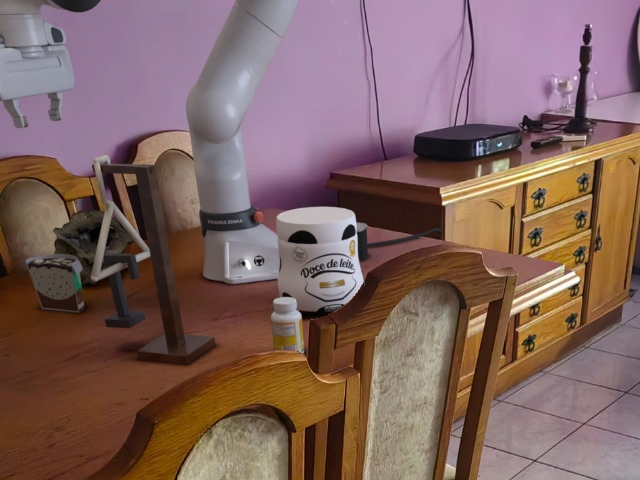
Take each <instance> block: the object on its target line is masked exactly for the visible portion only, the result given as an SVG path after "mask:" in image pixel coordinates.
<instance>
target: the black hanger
mask: <svg viewBox="0 0 640 480" xmlns="http://www.w3.org/2000/svg"><path fill="white" fill-rule="evenodd" d="M135 255H136V254H135V253H125V252H124V253H107V254H105V255H103V259H104V262H105V267H106V268H108V267H111V266H113V265H115V264H117V263H127V266H128V267H127V270H128V274H129V278H130V280H137V279H139V278H141V274H140V270H139V265H138V262H137V261H136V256H135ZM107 279H108V283H109V286H110V290H111V295H112V299H113V303H114V307H115V310H116V312H115V313H114V314H112V315H109V316H108V317H106V318H104V323H105V326H106V328H115V329H116V328H117V329H131V328H133V327H135V326H137V325H138V324H140V323H142V322H144V321H145V320H146V316H145V312H144V311H142V310H139V311H138V310H130V307H129V302H128V299H127V295H126V291H125V286H124V282H123V279H122V275H121V270H120V271H118V272H116V273H114V274H112V275H109V276H107Z"/></svg>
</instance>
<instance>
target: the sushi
mask: <svg viewBox="0 0 640 480" xmlns="http://www.w3.org/2000/svg"><path fill="white" fill-rule="evenodd" d="M356 224H357V241H358V259H359V262H362V261H365V260H366V259H367V258H368V256H369V247H368V246H367V244H368V232H367V231H368V224H367V223H364V222H359V221H358V222H357V221H356Z"/></svg>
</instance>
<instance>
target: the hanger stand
mask: <svg viewBox="0 0 640 480" xmlns="http://www.w3.org/2000/svg"><path fill="white" fill-rule="evenodd" d="M92 162H93V164H91V168H92V172H93V173H95V177H96V181H97V186H98V191H99V196H100V200H101V201H100V202H101V203H102V204H103V205H105V210H104V212H105V213H104V218H103V223H102V227H101V232H100V237H99V241H98V246H97V251H96V255H95V260H94V265H93V269H92V274H91V280H92V281H94V282H96V281H97V282H98V281H101V280H103V279H106V278H108V276H109V275H112V274H114V273H116V272H118V271H120V272H121V271H122V270H124V269H128V266H127V263H117V264H115V265H113V266H111V267H108V268H106V269H104V270H102V271H100V270H101V265H102V260H103V255H104V251H105V246H106V241H107V237H108V232H109V227H110V223H111V218H112V217H113V215H114V218H115V219H116V220H117V221H118V222H119V223H120V225H121V226H122V228H124V230H125V231H127V232H128V233H129V234H130V236H131V237H132V238H133V241H134V242H135V243H136V245H137V246H138V247H139V249H140V250H141V251H142V252H140V253H137V254H135V256H136V261H137V263H140V262H141V261H144V260H146V259H148V258H150V261H151V266H152V272H153V277H154V282H155V288H156V293H157V299H158V305H159V310H160V316H161V321H162V326H163V332H164V334H162V335H160V336H159V337H157V338H155V339H154V340H152V341H150V342H149V343H147V344H146V345H144V346H142V347H141V348H139V349H137V350H136V355H137V359H138V360H141V361H148V362H149V361H150V362H158V363H168V364H175V365H183V366H185V365H186V366H188V365H189V364H192V363H193V362H194V361H196V360H197V359H198V358H200V357H201V356H203V355H204V354H206V353H207V352H208V351H210V350H212V349H213V348H214V347H216V346H217V345H216V338H215V336H207V335H197V334H188V333H184V332H185V331H184V326H183V320H182V314H181V308H180V303H179V297H178V292H177V291H178V290H177V285H176V279H175V273H174V268H173V263H172V256H171V251H170V245H169V238H168V233H167V227H166V221H165V215H164V209H163V203H162V196H161V192H160V186H159V180H158V173H157V167H156V164H143V163H142V164H135V163H134V164H133V163H132V164H131V163H111V158H110V156H109V155H108V154H104V155H100V156H97V157H94V158H93V159H92ZM103 174H115V175H116V174H117V175H118V174H119V175H134V176H135V180H136V185H137V191H138V196H139V201H140V206H141V213H142V217H143V223H144V228H145V229H144V230H145V234H146V239H147V244H146V243H145V241H144V240H143V239H142V237H141V236H140V234H139V233H138V232H137V231H136V229H135V228H134V227H133V226H132V224H131V223H130V222H129V220H128V219H127V217H126V216H125V215H124V214H123V213H122V212H121V210H120V209H119V207H118V205H116V204H115V202H114V201H113V200H109V199H107V194H106V188H105V183H104V178H103ZM110 228H111V227H110ZM97 282H96V283H97Z"/></svg>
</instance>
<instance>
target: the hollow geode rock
mask: <svg viewBox="0 0 640 480" xmlns="http://www.w3.org/2000/svg"><path fill="white" fill-rule="evenodd" d="M104 213H105V211H103V210H101V209H100V210H97V209H96V210H95V209H93V210H92V209H91V210H88V211H85V210H84V211H83V210H78V211H76V212H73V213H72V215H71V216H70V218H69V221H68V222H66V223H64V224H63V225H62V227H56V226H55V227H54V228H53V229H52V232H53V233H54V234H55V236H56V238H55V240H54V243H53V246H54V253H53V254H67V255H73V256H75V257H77V259H78V260H79V261H80V264H81V266H82V268H83V269H82V271H81V272H80V278H81V286H88V285H92V286H93V285H96V284H97V282H98V281H96V282H94V281H92V280H91V274H92V269H93V265H94V260H95V255H96V251H97V246H98V241H99V237H100V232H101V227H102V223H103V218H104ZM133 241H134V240H133V238H132V237H131V236H130V234H129V233H128V232H127V231H126V229H123V227H121V226H119V223H118V219H117V218H116V217H113V216H112V218H111V223H110V227H109V232H108V237H107V241H106V246H105V251H104V255H105V254H107V253H125V251H126V248H127V246H128V243H130V244H131V243H132V242H133ZM104 269H106V267H105V262H104V259H103V260H102V265H101V270H100V271H102V270H104Z"/></svg>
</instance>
